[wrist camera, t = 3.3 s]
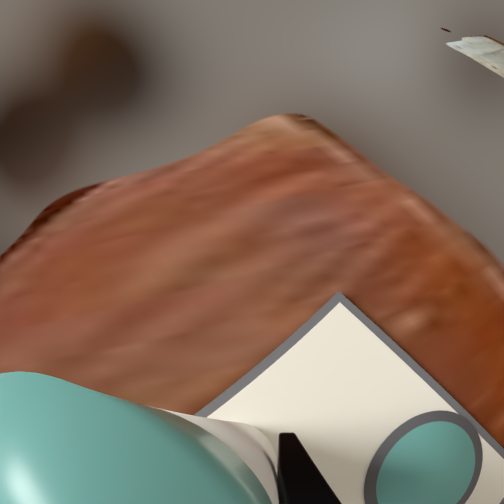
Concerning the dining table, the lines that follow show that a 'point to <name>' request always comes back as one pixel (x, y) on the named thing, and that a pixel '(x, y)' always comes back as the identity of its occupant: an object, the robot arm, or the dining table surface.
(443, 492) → the drawing board
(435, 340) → the dining table surface
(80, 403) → the marker
